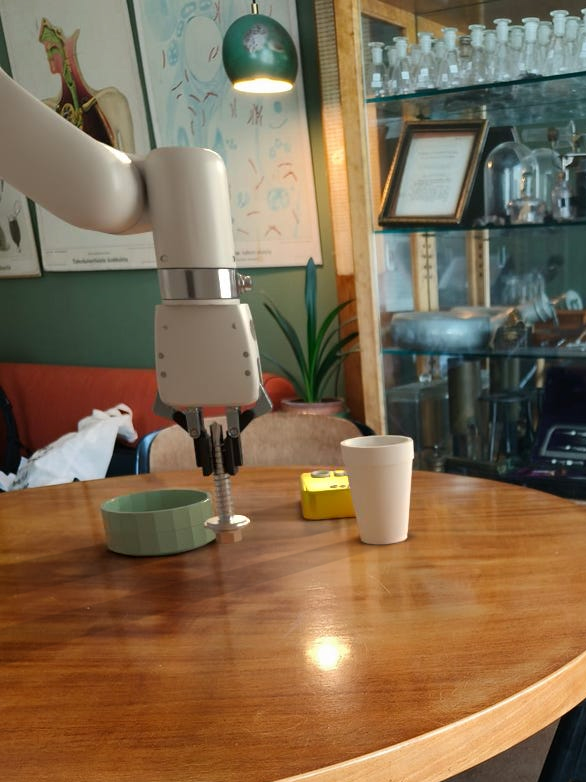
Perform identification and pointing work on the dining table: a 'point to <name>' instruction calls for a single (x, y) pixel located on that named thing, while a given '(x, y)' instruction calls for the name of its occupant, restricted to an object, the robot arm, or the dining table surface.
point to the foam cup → (380, 485)
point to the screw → (223, 494)
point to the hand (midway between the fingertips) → (221, 472)
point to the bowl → (158, 521)
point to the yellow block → (325, 495)
